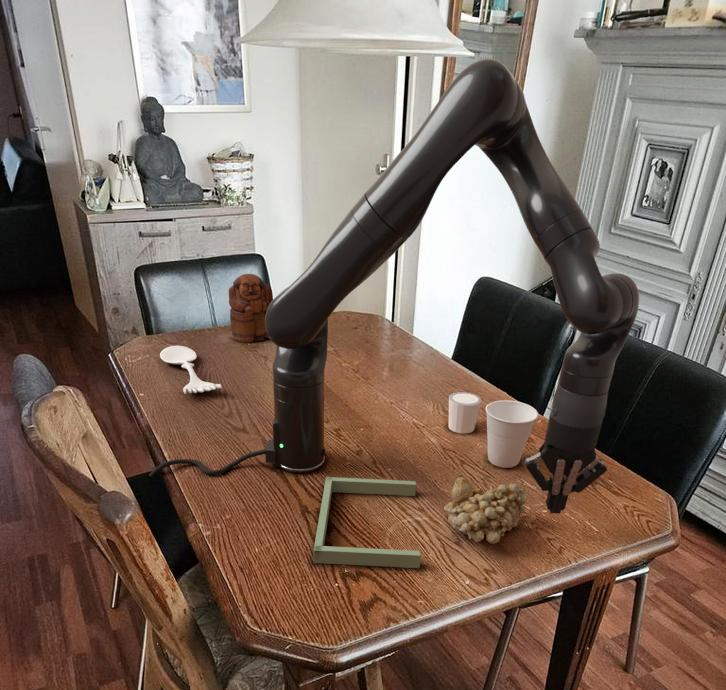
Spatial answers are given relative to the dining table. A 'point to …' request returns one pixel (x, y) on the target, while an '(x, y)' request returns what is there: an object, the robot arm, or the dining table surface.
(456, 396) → the white short cylinder
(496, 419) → the cup
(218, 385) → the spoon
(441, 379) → the dining table surface
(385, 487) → the frame
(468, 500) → the mineral formation
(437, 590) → the dining table surface
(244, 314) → the wooden figurine
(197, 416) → the dining table surface
